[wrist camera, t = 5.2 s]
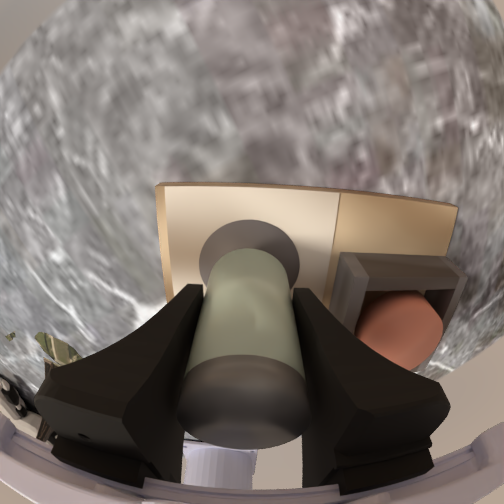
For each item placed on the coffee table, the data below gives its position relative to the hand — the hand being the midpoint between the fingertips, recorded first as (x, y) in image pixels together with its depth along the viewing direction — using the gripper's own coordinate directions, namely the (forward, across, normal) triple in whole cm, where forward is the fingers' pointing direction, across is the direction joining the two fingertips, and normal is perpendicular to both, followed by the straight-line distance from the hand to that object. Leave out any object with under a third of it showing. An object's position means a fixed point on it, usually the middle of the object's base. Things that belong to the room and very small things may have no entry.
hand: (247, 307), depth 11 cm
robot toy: (+5, +31, +25) cm, 40 cm away
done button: (+2, -8, +2) cm, 9 cm away
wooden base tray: (+4, -4, +2) cm, 6 cm away
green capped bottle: (+2, 0, 0) cm, 2 cm away
